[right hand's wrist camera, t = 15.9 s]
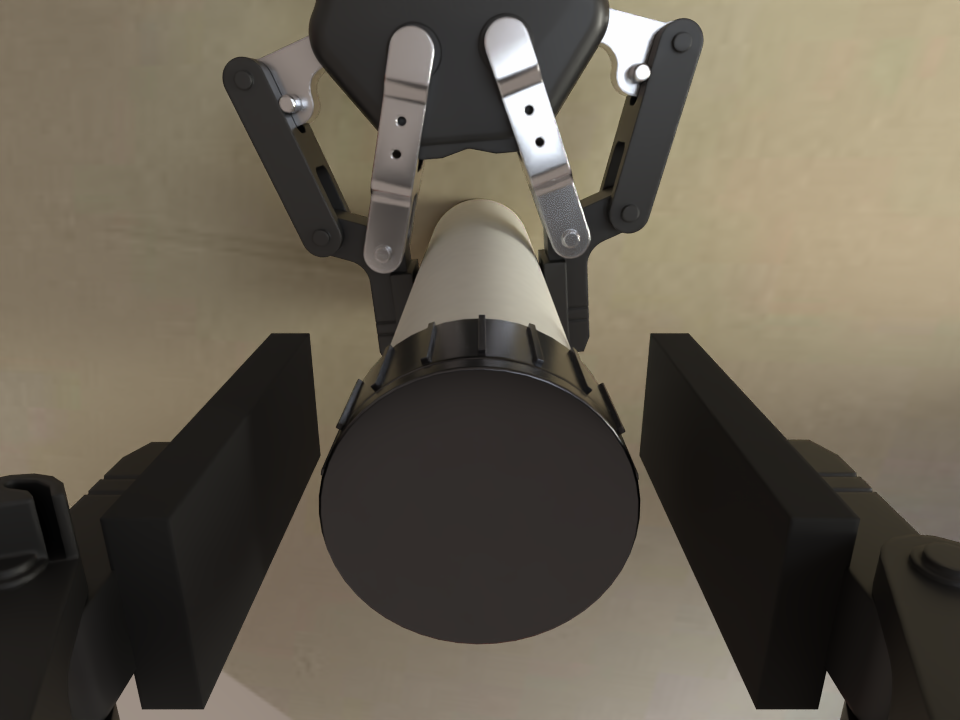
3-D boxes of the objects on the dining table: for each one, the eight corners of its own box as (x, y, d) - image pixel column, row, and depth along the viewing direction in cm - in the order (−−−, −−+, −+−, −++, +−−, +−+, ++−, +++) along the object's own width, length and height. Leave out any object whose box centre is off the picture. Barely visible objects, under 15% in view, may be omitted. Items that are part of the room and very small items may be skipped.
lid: (523, 595, 13) (531, 692, 11) (297, 483, 12) (258, 563, 10) (670, 401, 12) (713, 468, 10) (426, 259, 11) (413, 297, 9)
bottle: (410, 255, 29) (292, 507, 11) (472, 177, 28) (459, 308, 10) (486, 315, 30) (496, 641, 12) (549, 242, 29) (670, 474, 10)
